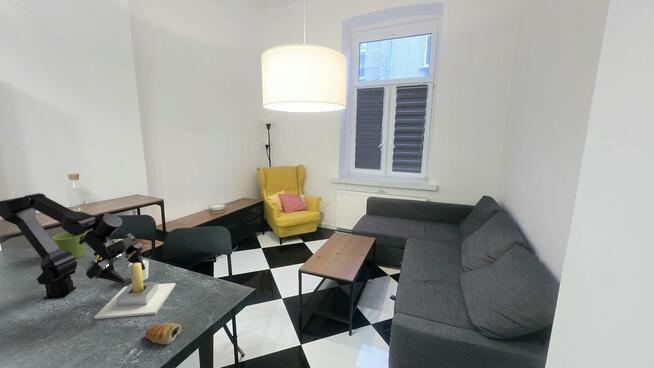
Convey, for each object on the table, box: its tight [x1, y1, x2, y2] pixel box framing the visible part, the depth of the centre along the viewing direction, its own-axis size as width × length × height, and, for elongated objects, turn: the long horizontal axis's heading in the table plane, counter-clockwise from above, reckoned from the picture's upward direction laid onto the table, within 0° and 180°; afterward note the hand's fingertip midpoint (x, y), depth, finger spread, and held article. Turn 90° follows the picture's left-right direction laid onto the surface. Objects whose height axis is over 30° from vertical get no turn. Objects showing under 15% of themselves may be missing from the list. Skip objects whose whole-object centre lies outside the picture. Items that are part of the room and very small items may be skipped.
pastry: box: [144, 322, 182, 345], centre depth 80 cm, size 9×7×4 cm
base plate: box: [93, 282, 176, 320], centre depth 96 cm, size 18×18×1 cm
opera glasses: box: [94, 255, 102, 263], centre depth 122 cm, size 10×5×5 cm, turn 31°
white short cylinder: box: [127, 258, 150, 282], centre depth 110 cm, size 7×7×7 cm
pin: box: [130, 263, 144, 293], centre depth 95 cm, size 3×3×13 cm
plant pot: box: [52, 231, 88, 259], centre depth 126 cm, size 12×12×11 cm
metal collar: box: [117, 281, 159, 307], centre depth 96 cm, size 9×9×4 cm
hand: (134, 275), depth 95 cm, fingers open, 9 cm apart
